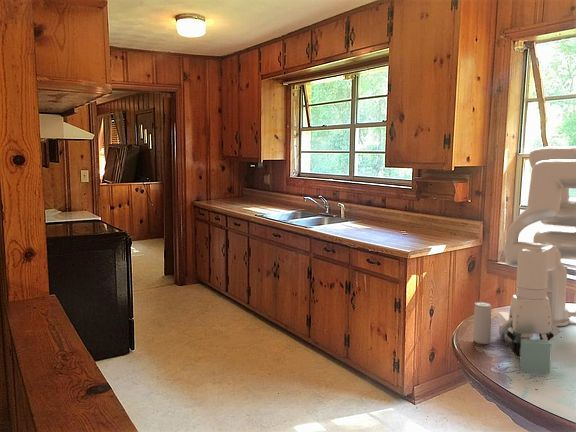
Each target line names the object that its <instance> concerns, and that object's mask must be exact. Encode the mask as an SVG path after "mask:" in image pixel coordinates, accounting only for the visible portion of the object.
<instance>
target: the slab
mask: <svg viewBox="0 0 576 432" xmlns="http://www.w3.org/2000/svg"><path fill="white" fill-rule="evenodd" d="M509 312H510V311H498V320H497V321H498V322H497V323H498V324H499V325H500V326H502V325H503V324H505V323H506V322H507V321H508V320H509ZM508 330H509V331H510V332H511V333H513V328H511V327H509V328H508ZM521 337H530V338H533V334H524V333H522V334H521Z"/></svg>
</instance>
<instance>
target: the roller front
mask: <svg viewBox="0 0 576 432" xmlns="http://www.w3.org/2000/svg"><path fill="white" fill-rule="evenodd" d="M521 339H531V337H520V339H519V343H520V344H521ZM504 344H505V346H507V347H512V339H511V338H510V337H509V336H508V335H507V334H505V339H504Z"/></svg>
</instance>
